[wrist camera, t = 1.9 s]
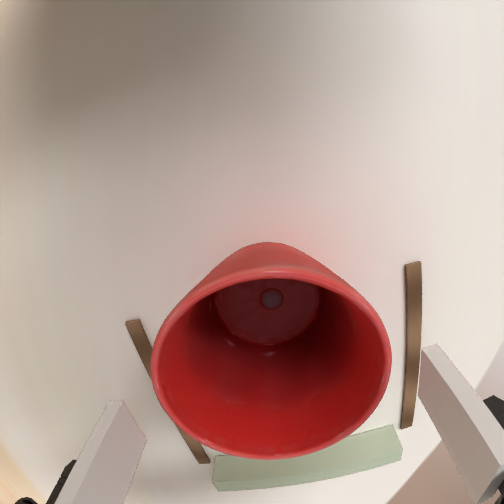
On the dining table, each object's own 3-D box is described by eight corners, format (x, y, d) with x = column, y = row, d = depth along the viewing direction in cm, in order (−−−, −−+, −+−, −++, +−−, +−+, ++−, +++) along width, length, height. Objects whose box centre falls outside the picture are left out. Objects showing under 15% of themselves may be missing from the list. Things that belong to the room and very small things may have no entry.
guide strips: (126, 321, 23) (125, 323, 22) (419, 261, 21) (421, 262, 20) (199, 461, 28) (199, 463, 28) (411, 423, 26) (411, 425, 25)
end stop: (215, 455, 27) (211, 482, 24) (392, 424, 26) (402, 449, 22) (221, 465, 28) (218, 491, 25) (391, 435, 26) (400, 460, 23)
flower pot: (362, 230, 20) (431, 290, 11) (323, 366, 23) (347, 464, 14) (201, 204, 20) (150, 247, 11) (187, 348, 23) (154, 444, 14)
